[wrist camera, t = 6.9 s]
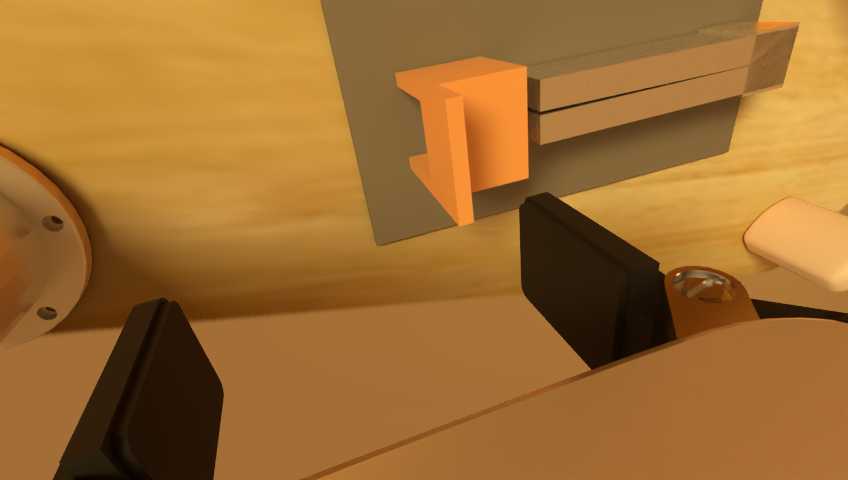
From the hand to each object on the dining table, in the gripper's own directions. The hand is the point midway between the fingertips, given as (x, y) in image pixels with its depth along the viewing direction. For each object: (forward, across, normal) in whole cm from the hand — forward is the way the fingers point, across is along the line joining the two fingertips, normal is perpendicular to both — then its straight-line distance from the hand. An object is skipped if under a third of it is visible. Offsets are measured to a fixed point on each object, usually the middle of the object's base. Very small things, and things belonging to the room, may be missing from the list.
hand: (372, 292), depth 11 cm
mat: (+16, -16, 0) cm, 22 cm away
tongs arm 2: (+15, -20, -1) cm, 25 cm away
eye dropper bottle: (+15, -37, +16) cm, 43 cm away
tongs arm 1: (+15, -20, +1) cm, 25 cm away
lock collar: (+15, -8, 0) cm, 17 cm away
